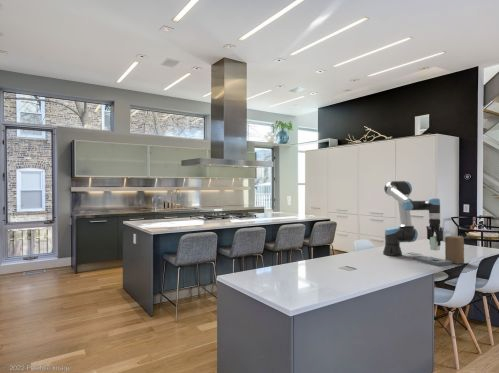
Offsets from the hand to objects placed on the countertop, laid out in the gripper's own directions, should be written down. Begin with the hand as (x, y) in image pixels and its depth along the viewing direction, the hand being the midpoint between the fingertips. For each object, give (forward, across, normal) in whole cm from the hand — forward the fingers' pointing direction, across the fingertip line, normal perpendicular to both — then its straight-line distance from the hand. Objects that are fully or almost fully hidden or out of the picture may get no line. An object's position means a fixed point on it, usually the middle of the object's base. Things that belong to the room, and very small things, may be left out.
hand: (435, 249), depth 259 cm
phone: (+11, -16, +4) cm, 20 cm away
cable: (+10, -18, +12) cm, 24 cm away
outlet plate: (+11, -2, +2) cm, 11 cm away
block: (+11, +3, +17) cm, 20 cm away
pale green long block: (0, 0, 0) cm, 0 cm away
